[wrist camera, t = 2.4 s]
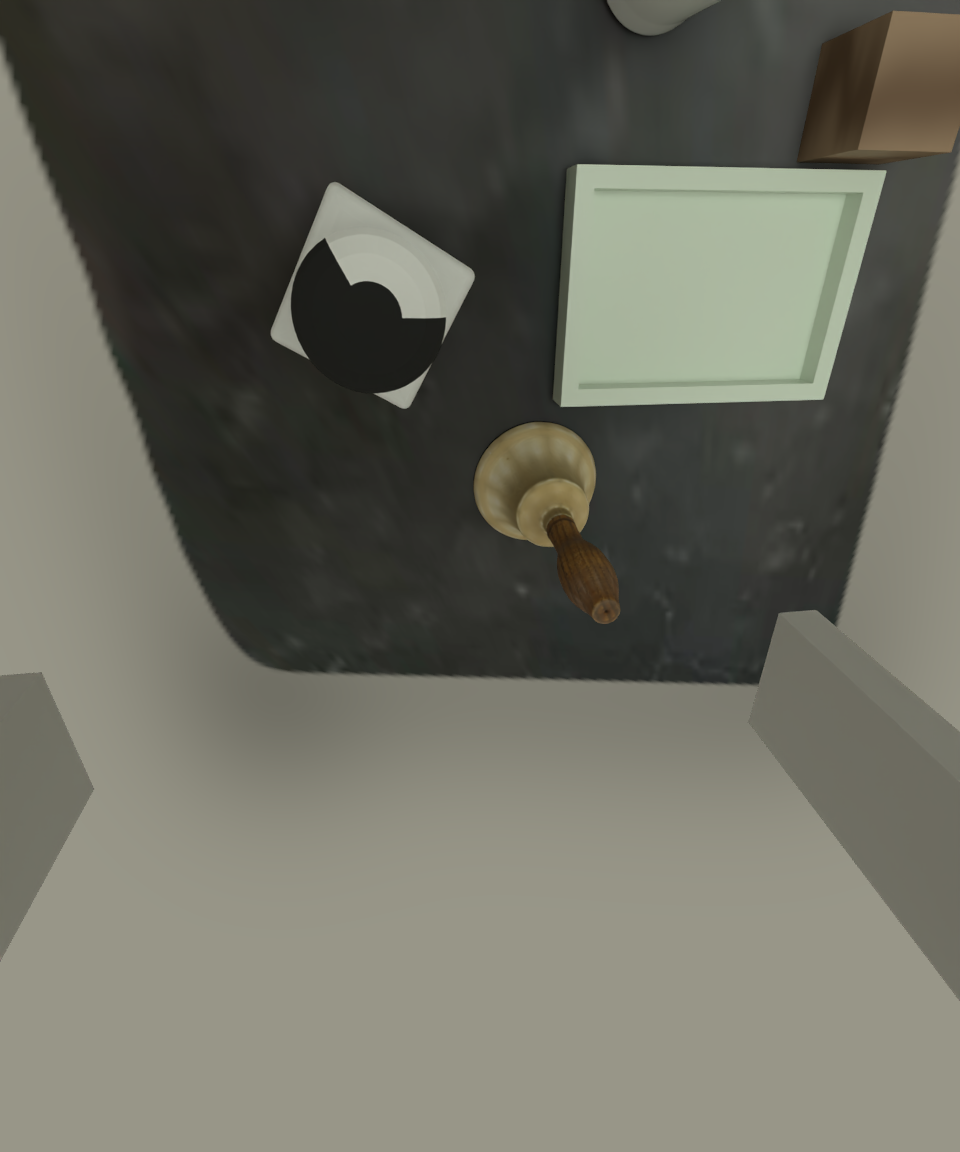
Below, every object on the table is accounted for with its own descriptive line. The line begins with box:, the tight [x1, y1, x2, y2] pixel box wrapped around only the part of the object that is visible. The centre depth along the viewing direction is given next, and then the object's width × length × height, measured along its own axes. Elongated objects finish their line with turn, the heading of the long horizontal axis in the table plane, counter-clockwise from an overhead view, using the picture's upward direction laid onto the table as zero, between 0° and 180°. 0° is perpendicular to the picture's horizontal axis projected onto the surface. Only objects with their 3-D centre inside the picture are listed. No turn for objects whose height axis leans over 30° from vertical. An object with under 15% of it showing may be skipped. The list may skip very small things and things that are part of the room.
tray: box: [553, 164, 886, 407], centre depth 35 cm, size 12×17×2 cm
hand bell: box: [474, 422, 620, 624], centre depth 33 cm, size 8×8×16 cm
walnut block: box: [797, 11, 960, 164], centre depth 30 cm, size 5×5×5 cm
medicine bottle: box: [271, 182, 475, 409], centre depth 28 cm, size 7×7×12 cm
